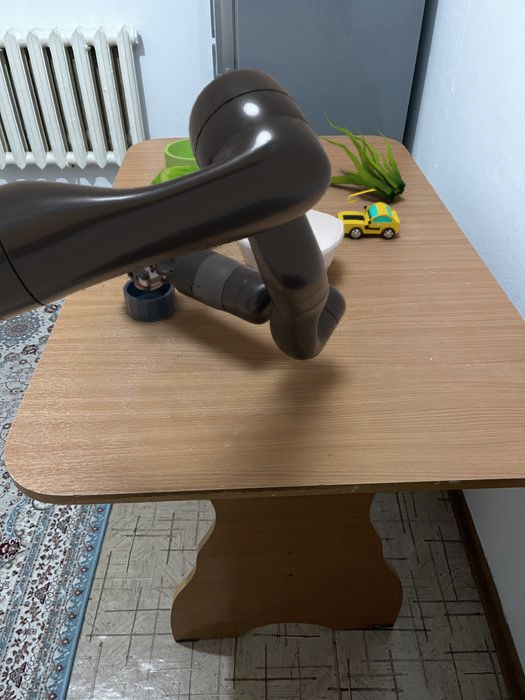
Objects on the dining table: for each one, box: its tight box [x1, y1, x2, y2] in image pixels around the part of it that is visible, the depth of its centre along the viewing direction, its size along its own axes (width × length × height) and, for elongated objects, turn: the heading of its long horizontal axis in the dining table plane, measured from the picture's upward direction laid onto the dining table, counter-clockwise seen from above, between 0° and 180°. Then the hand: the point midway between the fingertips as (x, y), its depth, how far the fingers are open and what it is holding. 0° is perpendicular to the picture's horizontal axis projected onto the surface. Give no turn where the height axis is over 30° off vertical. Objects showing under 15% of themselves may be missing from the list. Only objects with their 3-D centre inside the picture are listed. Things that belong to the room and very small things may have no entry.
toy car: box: [336, 189, 401, 240], centre depth 113 cm, size 12×8×8 cm, turn 89°
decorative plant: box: [316, 110, 406, 203], centre depth 130 cm, size 18×30×15 cm, turn 23°
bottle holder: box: [122, 278, 177, 323], centre depth 93 cm, size 8×8×4 cm
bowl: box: [236, 209, 345, 272], centre depth 99 cm, size 18×18×9 cm
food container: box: [163, 138, 199, 169], centre depth 134 cm, size 25×15×13 cm, turn 74°
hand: (132, 245), depth 89 cm, fingers closed on pill bottle, 4 cm apart
